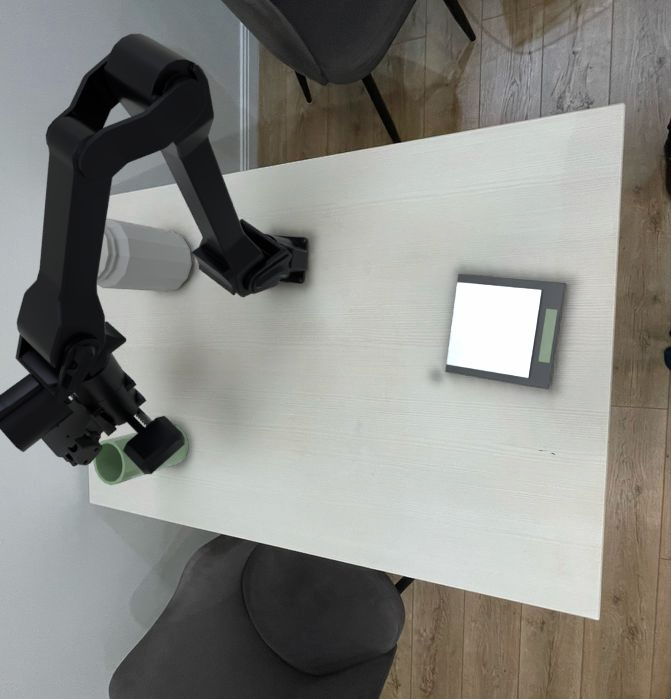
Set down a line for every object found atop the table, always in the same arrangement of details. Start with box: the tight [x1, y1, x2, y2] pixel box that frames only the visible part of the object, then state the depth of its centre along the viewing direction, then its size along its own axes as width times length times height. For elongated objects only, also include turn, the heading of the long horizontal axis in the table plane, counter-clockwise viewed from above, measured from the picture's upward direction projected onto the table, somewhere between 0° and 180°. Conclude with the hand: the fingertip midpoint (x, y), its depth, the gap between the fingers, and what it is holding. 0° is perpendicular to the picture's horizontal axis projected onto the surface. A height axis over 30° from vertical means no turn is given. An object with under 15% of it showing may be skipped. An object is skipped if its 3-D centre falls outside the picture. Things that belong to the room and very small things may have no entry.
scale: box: [444, 273, 567, 390], centre depth 63 cm, size 12×12×3 cm
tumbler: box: [92, 424, 189, 486], centre depth 84 cm, size 7×7×13 cm
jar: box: [97, 218, 193, 293], centre depth 80 cm, size 10×10×18 cm
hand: (138, 435), depth 74 cm, fingers open, 9 cm apart
